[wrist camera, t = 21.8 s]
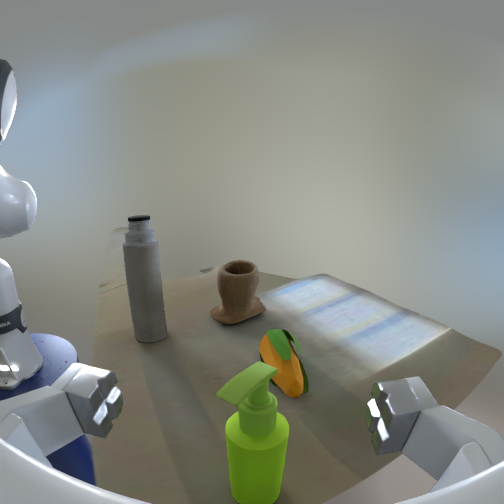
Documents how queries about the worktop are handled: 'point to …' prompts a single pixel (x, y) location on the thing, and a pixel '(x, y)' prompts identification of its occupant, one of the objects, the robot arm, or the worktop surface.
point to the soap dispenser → (255, 436)
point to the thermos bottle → (144, 280)
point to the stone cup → (237, 292)
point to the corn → (284, 362)
